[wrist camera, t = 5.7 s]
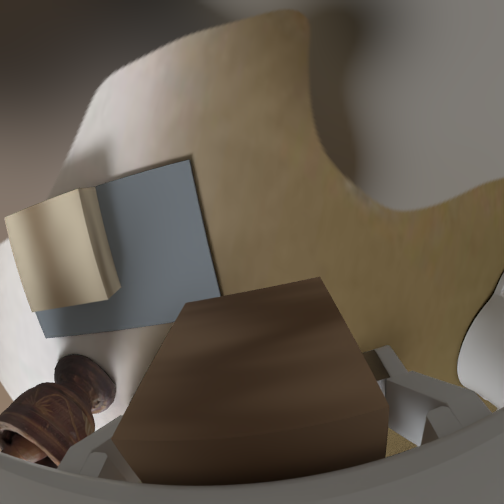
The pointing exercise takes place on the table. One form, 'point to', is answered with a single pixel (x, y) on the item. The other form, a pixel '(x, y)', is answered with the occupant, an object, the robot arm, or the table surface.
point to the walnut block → (255, 393)
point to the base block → (63, 251)
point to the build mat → (146, 255)
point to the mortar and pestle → (56, 412)
